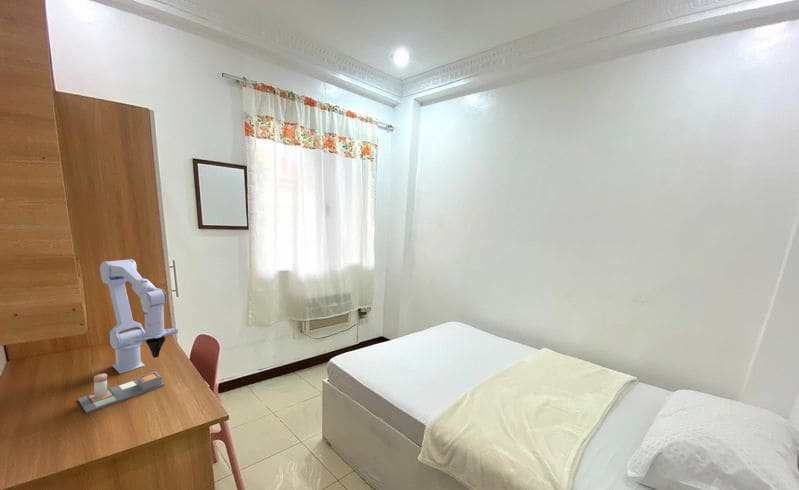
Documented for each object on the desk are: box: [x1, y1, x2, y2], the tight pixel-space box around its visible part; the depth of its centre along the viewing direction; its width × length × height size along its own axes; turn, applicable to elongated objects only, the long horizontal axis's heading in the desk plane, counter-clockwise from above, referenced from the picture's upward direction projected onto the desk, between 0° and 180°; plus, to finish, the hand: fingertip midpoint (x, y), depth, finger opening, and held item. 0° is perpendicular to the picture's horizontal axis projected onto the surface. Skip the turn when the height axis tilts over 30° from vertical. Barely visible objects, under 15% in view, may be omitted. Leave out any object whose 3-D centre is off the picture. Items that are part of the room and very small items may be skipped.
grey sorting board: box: [77, 371, 165, 414], centre depth 112 cm, size 11×21×4 cm, turn 145°
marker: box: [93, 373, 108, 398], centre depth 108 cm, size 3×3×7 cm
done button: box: [141, 374, 157, 381], centre depth 116 cm, size 4×4×2 cm
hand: (155, 356), depth 120 cm, fingers closed
